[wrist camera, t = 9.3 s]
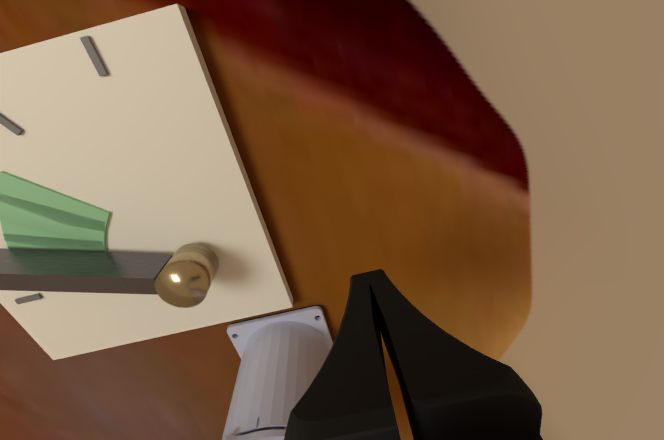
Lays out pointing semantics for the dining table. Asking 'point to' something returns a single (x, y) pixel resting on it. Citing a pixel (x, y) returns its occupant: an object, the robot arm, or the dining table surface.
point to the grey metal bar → (113, 272)
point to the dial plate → (127, 180)
